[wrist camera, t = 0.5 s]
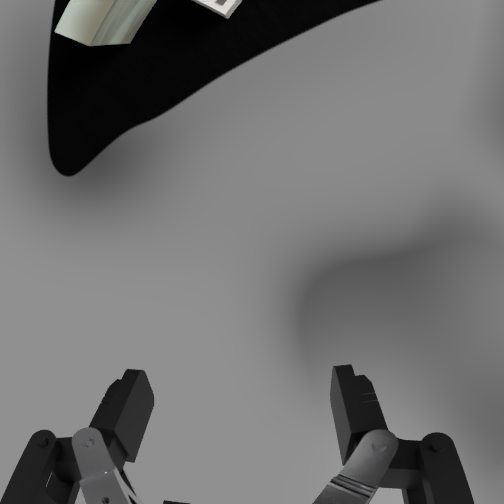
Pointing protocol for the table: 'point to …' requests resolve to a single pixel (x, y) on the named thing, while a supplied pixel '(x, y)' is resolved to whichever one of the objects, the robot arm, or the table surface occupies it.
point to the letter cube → (220, 6)
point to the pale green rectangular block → (103, 20)
